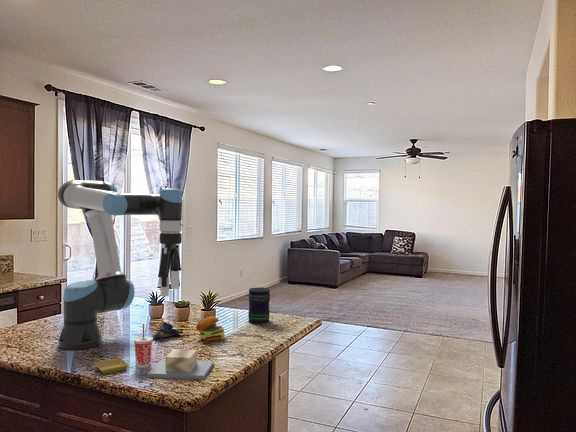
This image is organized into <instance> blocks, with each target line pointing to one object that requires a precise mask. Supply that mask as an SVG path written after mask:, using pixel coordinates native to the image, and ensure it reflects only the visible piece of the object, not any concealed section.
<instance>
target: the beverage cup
mask: <svg viewBox="0 0 576 432" xmlns="http://www.w3.org/2000/svg"><path fill="white" fill-rule="evenodd" d="M152 337H153V336H146V335H145V323H142V336H138V337H134V338H133V343H134V353H135V354H134V355H135V356H134V357H135V367H136V368H139V369H145V368H149V367H150V366H151V363H152V362H151V360H152V345H153V341H154V340H153V338H152Z"/></svg>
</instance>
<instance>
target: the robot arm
mask: <svg viewBox="0 0 576 432" xmlns="http://www.w3.org/2000/svg"><path fill="white" fill-rule="evenodd" d="M57 191H58V192H57V198H58V200H59V202H60V204H62V205H63V206H65V208H69V209H76V210H77V209H78V210H83V211H84V216H86V217H87V218H88V219H89V224H90V228H91V236H92V243H93V247H94V248H93V249H94V253H95V260H96V267H97V273H98V275H97V277H96V278H95V279H94V280H93V279H92V280H91V279H89V280H88V279H87V280H81V281H80V280H79V281H76V282H73V283H70V284H68V285H67V286H66V287H64V290H63V297H62V300H63V325H62V326H63V327H62V329H61V332H60V335H59V338H58V344H57V346H58V348H59V349H62V350H68V351H70V350H71V351H74V350H76V351H77V350H79V351H80V350H87V349H90V348H91V349H92V348H94V347H97V346H99V345H101V344H102V342H103V337H102V333H101V329H100V327H99V324H98V314H103V313H109V312H114V311H120V310H123V309H126V308H129V307H130V306H131V305H132V303H133V301H134V298H135V286H134V283H133V282H132V281H131V280H130V279H128V278H127V276H126V273H124V272H123V271H122V269H121V264H120V257H119V251H118V246H117V241H116V233H115V229H114V227H115V226H114V222H113V216H118V217H119V216H132V215H133V216H147V215H148V216H151V215H153V216H154V215H155V216H159V232H160V233H159V243H160V245H161V244H162V245H164V247H161V257H160V262H159V271H158V275H157V276H158V278H160V297H170V289H171V290H179V289H180V288H179V287H180V271H182V266H181V259H180V250H179V249H180V244H182V242H183V241H182V233H181V232H182V231H183V230H182V228H183V226H184V223H183V220H182V219H183V191H182V190H181V189H179V188H161V189H160V191H159V194H158V193H157V194H156V193H127V192H126V193H124V192H119V191H118V190H117V188H116V187H115V184H112V183H111V182H110V181H103V180H87V179H86V180H79V179H72V180H69V181H66V182H64V183H63V184H62V185H60V187H59V188H58V190H57ZM170 269H171V272H170ZM169 275H170V276H169Z"/></svg>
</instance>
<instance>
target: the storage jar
mask: <svg viewBox="0 0 576 432" xmlns="http://www.w3.org/2000/svg"><path fill="white" fill-rule="evenodd" d="M270 292H271V290H270V288H269V287H251V288H248V302H249V303H248V313H247V314H248V323H249V324H251V325H266V324H269V323H270V301H271V298H270V297H271V295H270Z"/></svg>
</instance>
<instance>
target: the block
mask: <svg viewBox="0 0 576 432" xmlns="http://www.w3.org/2000/svg"><path fill="white" fill-rule="evenodd" d="M164 360H165V371H175V372H191V371H192V369H193V368H194V367H195V365H196V364H197V361H198V349H183V348H182V349H179V348H176V349H175V348H173V349H172V350H170V352H169V353H168V354H167V355H166V356H165V359H164Z"/></svg>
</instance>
